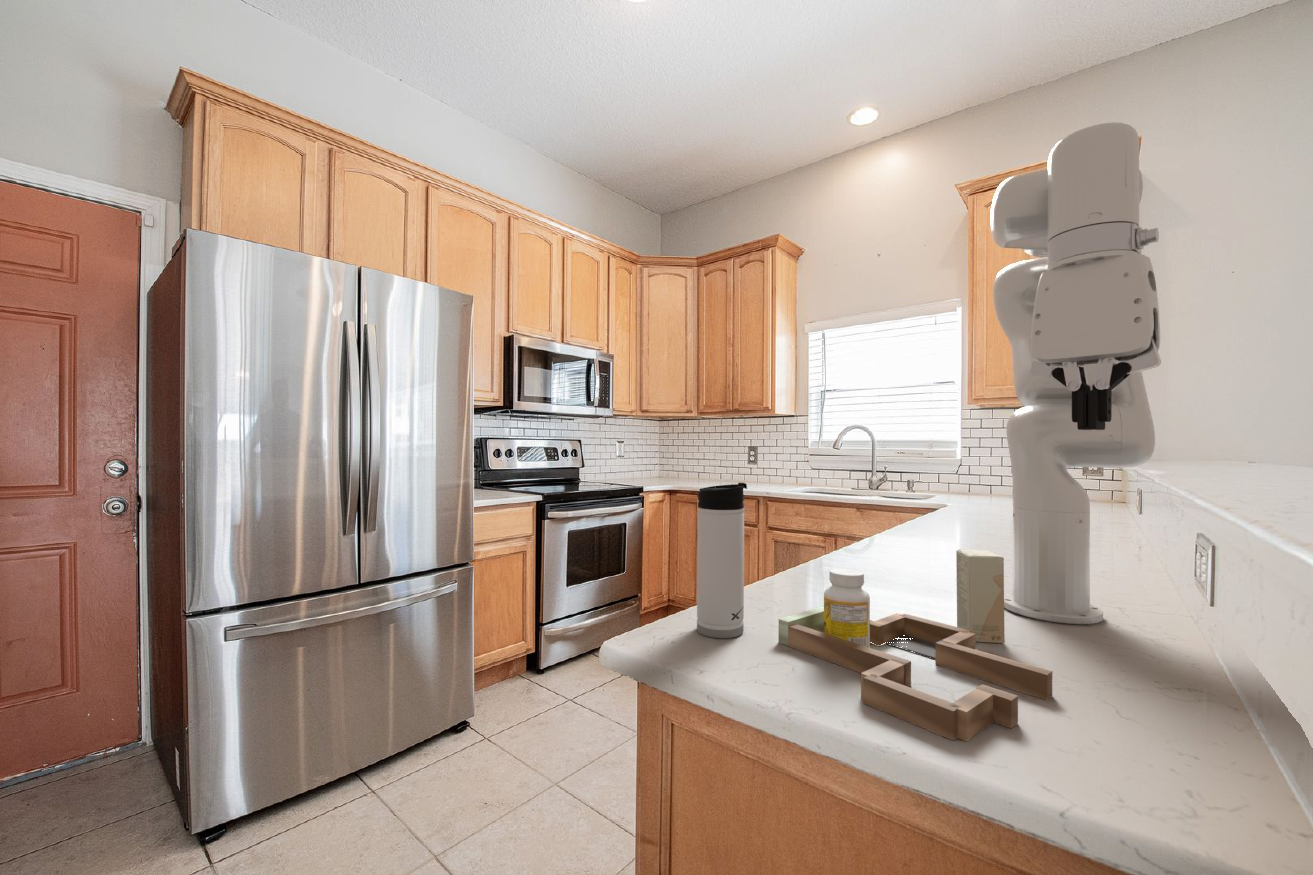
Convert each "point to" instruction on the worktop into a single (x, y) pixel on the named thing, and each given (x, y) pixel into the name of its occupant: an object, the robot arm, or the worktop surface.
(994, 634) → the box
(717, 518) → the travel mug
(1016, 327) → the robot arm
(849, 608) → the supplement bottle
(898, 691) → the box
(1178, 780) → the worktop surface
